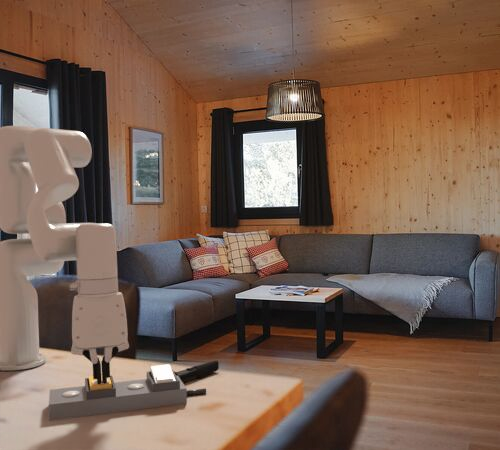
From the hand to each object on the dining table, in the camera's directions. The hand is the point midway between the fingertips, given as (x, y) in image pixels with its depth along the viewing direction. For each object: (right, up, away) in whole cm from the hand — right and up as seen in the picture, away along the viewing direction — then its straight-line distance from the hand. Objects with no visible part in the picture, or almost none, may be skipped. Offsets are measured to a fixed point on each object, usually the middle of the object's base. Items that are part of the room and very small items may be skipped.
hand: (101, 381), depth 109 cm
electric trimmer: (+15, -5, +20) cm, 26 cm away
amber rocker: (-1, -1, +3) cm, 3 cm away
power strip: (+5, -6, +5) cm, 9 cm away
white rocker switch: (+11, -1, +7) cm, 13 cm away
